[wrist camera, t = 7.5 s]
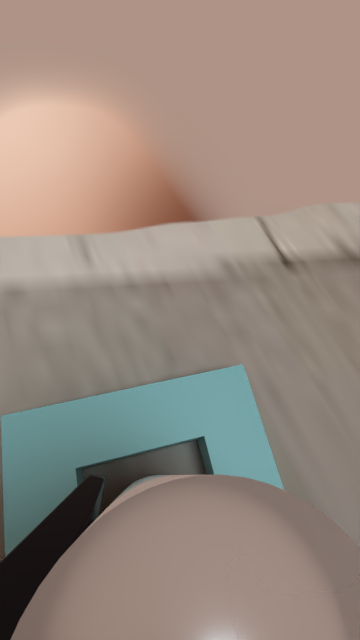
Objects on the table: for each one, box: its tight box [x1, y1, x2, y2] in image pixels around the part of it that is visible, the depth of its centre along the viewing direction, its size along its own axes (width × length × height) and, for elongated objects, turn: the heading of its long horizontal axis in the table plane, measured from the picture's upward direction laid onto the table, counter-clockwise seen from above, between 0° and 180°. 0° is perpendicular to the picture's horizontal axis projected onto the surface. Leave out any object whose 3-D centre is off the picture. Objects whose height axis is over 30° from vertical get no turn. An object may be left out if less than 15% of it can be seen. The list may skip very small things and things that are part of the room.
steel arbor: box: [11, 475, 360, 640], centre depth 9 cm, size 4×4×13 cm
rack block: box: [1, 364, 284, 557], centre depth 15 cm, size 12×12×2 cm
